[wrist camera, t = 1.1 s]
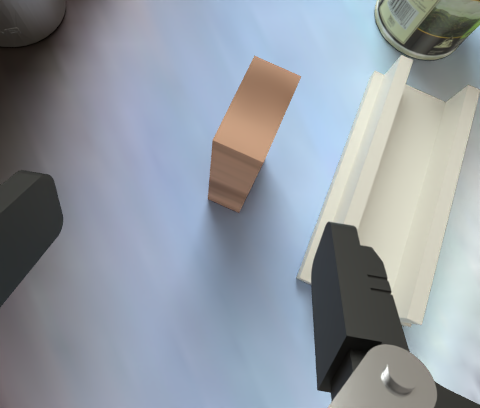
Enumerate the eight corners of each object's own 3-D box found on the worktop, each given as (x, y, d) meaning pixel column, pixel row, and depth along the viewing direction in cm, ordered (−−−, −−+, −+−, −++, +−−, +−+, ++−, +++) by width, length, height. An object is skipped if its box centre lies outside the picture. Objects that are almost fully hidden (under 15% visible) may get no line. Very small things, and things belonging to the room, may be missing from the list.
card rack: (403, 326, 29) (434, 330, 25) (296, 278, 29) (310, 275, 25) (459, 116, 35) (490, 94, 32) (370, 76, 35) (390, 50, 32)
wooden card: (239, 213, 30) (263, 162, 19) (207, 199, 30) (212, 140, 19) (264, 155, 32) (301, 76, 20) (234, 142, 32) (254, 55, 20)
